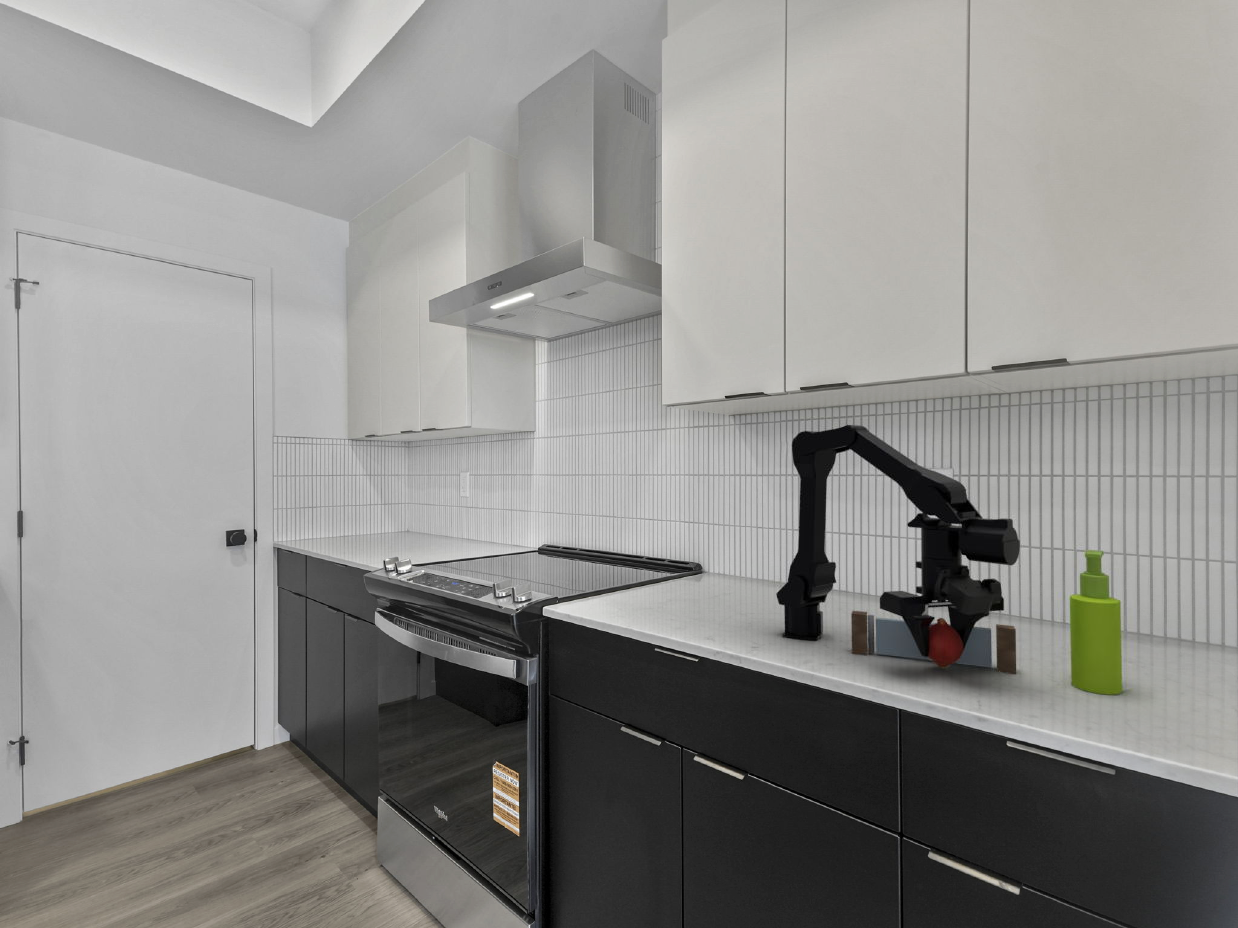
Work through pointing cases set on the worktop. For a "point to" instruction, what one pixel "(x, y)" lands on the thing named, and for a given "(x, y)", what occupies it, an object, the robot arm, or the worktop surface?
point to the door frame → (1003, 642)
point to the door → (900, 642)
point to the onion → (944, 644)
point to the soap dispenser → (1095, 632)
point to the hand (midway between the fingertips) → (941, 654)
